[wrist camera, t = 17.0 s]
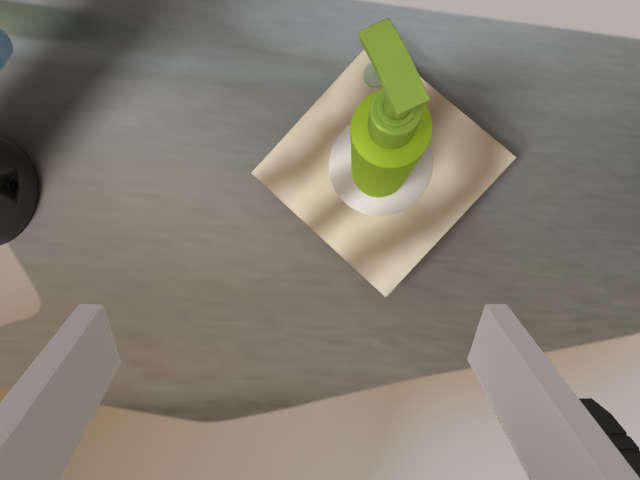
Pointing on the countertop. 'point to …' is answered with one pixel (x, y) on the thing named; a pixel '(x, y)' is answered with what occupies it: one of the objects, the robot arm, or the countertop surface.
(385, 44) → the soap dispenser
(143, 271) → the countertop surface
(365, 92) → the stand
